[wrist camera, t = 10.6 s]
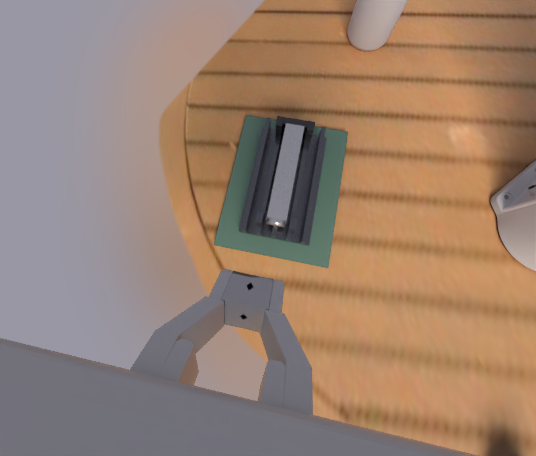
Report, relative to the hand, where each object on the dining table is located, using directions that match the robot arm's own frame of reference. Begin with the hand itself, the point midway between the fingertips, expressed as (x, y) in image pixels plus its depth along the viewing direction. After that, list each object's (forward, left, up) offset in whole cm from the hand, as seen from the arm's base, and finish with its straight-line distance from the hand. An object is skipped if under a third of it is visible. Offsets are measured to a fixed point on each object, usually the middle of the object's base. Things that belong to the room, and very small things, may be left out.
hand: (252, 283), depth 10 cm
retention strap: (-13, -8, -20) cm, 25 cm away
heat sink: (-13, -8, -25) cm, 30 cm away
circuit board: (-13, -8, -25) cm, 30 cm away
